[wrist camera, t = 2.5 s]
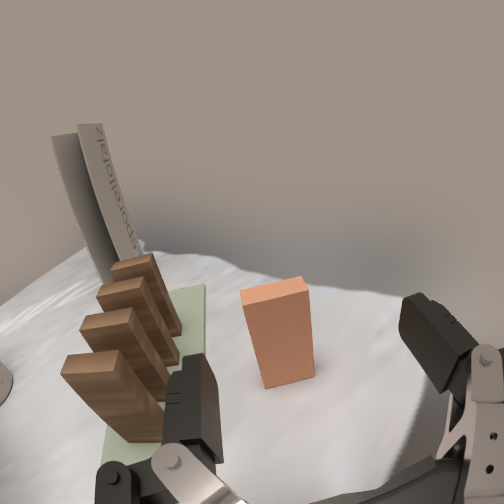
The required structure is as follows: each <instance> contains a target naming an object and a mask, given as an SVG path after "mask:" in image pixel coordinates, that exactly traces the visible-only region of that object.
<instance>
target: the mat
mask: <svg viewBox="0 0 504 504" xmlns="http://www.w3.org/2000/svg"><path fill="white" fill-rule="evenodd" d="M168 294H169V296H170V299H171V301H172V303H173V306H174V308H175V310H176V313H177V315H178V317H179V320H180V322H181V324H182V333H181V336H178V337H172V339H173V341H174V343H175V345H176V347H177V348H178V350H179V352H180V356H179V365H178V366H171V367H166V368H167V370H168V372H169V373H170V375H171V374H172V372H173V371H179V370H182V358H183V356H186V355H192V354H197V353H203V354H204V355H205V285H204V284H202V285H197V286H193V287H188V288H183V289H179V290H174V291H169V292H168ZM157 403H158V404H159V406H160V407H161V408H162V409H163V410H164V408H165V402H157ZM160 446H161V443H128V442H127V441H126V440H124V439H123V438H122V437H121V436H120V435H119V434H118V433H116V432H115V431H114V430H113V429H112V428H111V427H110V426H109V425H108V424H107V430H106V435H105V441H104V447H103V453H102V460H101V466H102V465H103V464H104V463H106V462H108V461H119V462H121V463H123V464H125V465H126V466H127V465H130V464H134V463H137V462H140V461H144V460H146V459H149V458H150V457H152V456H153V454H154V452H155V451H156V450H157V449H158V448H159V447H160ZM177 504H180V503H177Z"/></svg>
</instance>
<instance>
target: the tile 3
mask: <svg viewBox="0 0 504 504" xmlns="http://www.w3.org/2000/svg"><path fill="white" fill-rule="evenodd" d="M79 331H80V333H81V334H82V336H83V337H84V339H85V340H86V342H87V343H88V345H89V346H90V348H91V349H92V351H93V352H94V353H95V352H104V351H112V350H120V352H121V353H122V355H123V356H124V358H125V359H126V361H127V362H128V364H129V365H130V367H131V368H132V370H133V371H134V372H135V374H136V375H137V377H138V378H139V379H140V381H141V382H142V383H143V385H144V386H145V387H146V389H147V390H148V391H149V393H150V394H151V395H152V397H153V398H154V399H155V400H156V402H165V397H166V386H167V381H168V380H169V378H170V376H171V375H170V373H169V372H168V370H167V368H166V367H165V365H164V363H163V362H162V360H161V358H160V357H159V355H158V353H157V351H156V350H155V348H154V346H153V344H152V343H151V341H150V339H149V337H148V335H147V334H146V332H145V330H144V328H143V326H142V324H141V323H140V321H139V319H138V317H137V315H136V313H135V311H134V309H133V307H131V308H126V309H120V310H115V311H110V312H104V313H99V314H93V315H88V316H86V317H85V319H84V321H83V323H82V325H81V327H80V329H79Z"/></svg>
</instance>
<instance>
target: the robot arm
mask: <svg viewBox="0 0 504 504" xmlns="http://www.w3.org/2000/svg"><path fill="white" fill-rule="evenodd" d="M399 333H400V336H401V338H402V340H403V341H404V343H405V344H406V345H407V347H408V348H409V350H410V351H411V352H412V354H413V355H414V357H415V358H416V360H417V361H418V362H419V364H420V365H421V367H422V368H423V370H424V371H425V373H426V374H427V375H428V377H429V378H430V380H431V381H432V383H433V384H434V386H435V387H436V389H437V390H438V392H439V394H441V393H443V392H445V391H447V390H448V389H449V390H450V392H451V395H450V398H449V407H448V415H447V422H446V428H445V434H444V438H443V440H442V443H441V445H440V447H439V450H438V453H437V456H436V459H435V460H433V458H432V456H429V457H427V458H425V459H423V460H421V461H419V462H418V463H416V464H414V465H412V466H410V467H408V468H406V469H404V470H403V471H401V472H400V473H399V474H398V475H396V476H395V477H394V478H392V479H391V480H389V481H388V482H387V483H385V484H384V485H382V486H381V487H380V488H378V489H375V490H370V491H363V492H356V493H348V494H341V495H338V496H335V497H331V498H328V499H324V500H321V501H317V502H313V503H309V504H504V348H502V349H499V350H497V349H496V348H495V347H493V346H492V345H489V344H481V345H479V344H478V343H477V341H476V340H475V339H474V338H473V337H472V336H471V335H470V334H469V332H468V331H467V330H466V329H465V328H464V327H463V326H462V325H461V324H460V323H459V322H458V321H457V320H456V319H455V317H454V316H453V315H451V313H450V312H449V311H448V310H447V309H446V308H445V307H444V306H443V305H441V304H439V303H437V302H435V301H433V300H432V301H429V299H428V298H427V297H426V296H425V295H424V294H422V293H416V294H414V295H411V296H408V297H406V298H404V299H403V301H402V307H401V314H400V320H399ZM11 386H12V374H11V373H10V372H9V370H8V369H7V368H6V367H5V365H4V364H3V363H2V362H1V360H0V404H1V403H2V402H3V401H4V400H5V398H6V397H7V395H8V393H9V391H10V389H11ZM221 463H224V459H223V448H222V436H221V423H220V409H219V394H218V386H217V382H216V378H215V376H214V374H213V372H212V370H211V368H210V366H209V363H208V361H207V359H206V357H205V355H204V354H203V353H197V354H192V355H186V356H183V358H182V370H179V371H173V372H172V374H171V376H170V378H169V380H168V381H167V386H166V397H165V408H164V420H163V435H162V443H161V446H160V447H159V448H158V449H157V450H156V451H155V452H154V454H153V456H152V457H150V458H149V459H146V460H144V461H140V462H137V463H134V464H130V465H127V466H126V465H125V464H123V463H121V462H119V461H108V462H106V463H104V464H103V465H102V466H101V467H100V468H99V469H98V471H97V475H96V485H95V503H94V504H177V503H180V504H249V503H248V502H246V501H245V500H244V499H243V498H241V497H240V496H239V495H238V494H237V493H236V492H234V491H233V490H232V489H231V488H230V487H229V486H228V485H226V484H225V483H224V482H223V481H222V480H221V479H220V478H219V477H218V476H217V475H216V467H215V464H221Z"/></svg>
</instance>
